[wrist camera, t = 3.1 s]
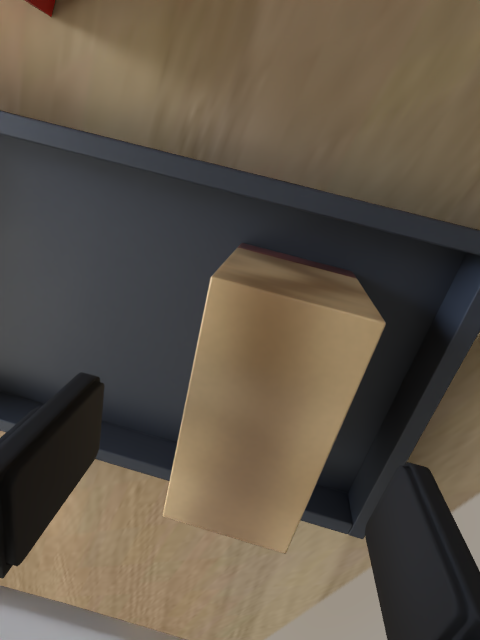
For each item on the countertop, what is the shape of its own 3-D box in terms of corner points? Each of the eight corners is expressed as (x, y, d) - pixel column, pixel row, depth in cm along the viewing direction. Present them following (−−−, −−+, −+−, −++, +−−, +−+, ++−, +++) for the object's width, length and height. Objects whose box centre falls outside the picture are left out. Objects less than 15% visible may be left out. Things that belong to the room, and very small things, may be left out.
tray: (490, 232, 14) (529, 242, 12) (355, 497, 20) (363, 540, 18) (-85, 89, 15) (-155, 72, 13) (-49, 379, 21) (-92, 403, 19)
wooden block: (352, 271, 15) (387, 323, 9) (288, 445, 19) (285, 554, 13) (241, 242, 15) (210, 275, 10) (200, 420, 19) (162, 517, 14)
